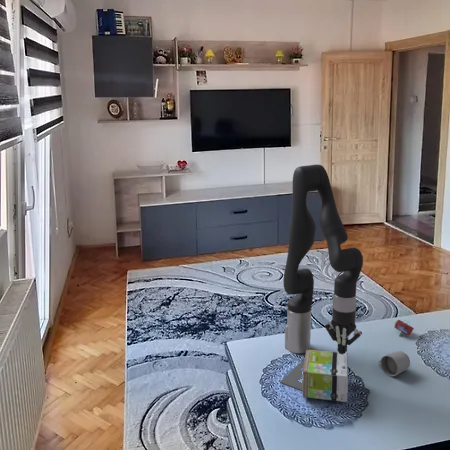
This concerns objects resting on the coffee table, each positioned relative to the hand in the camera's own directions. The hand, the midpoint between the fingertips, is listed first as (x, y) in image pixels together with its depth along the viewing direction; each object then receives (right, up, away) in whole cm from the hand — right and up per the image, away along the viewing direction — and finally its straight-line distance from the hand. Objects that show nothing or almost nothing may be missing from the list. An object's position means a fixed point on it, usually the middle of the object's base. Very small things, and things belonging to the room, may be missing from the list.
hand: (342, 353), depth 167 cm
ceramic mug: (+21, -10, +12) cm, 26 cm away
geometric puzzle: (+35, -2, +38) cm, 51 cm away
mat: (-9, -11, +10) cm, 17 cm away
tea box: (+2, -8, -2) cm, 8 cm away
